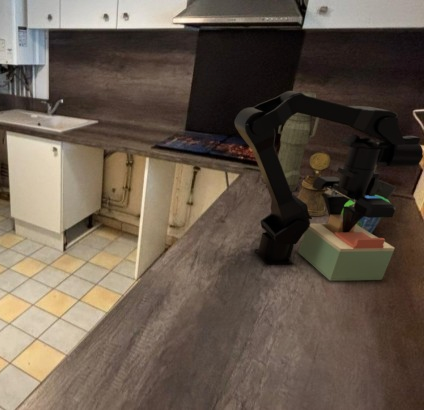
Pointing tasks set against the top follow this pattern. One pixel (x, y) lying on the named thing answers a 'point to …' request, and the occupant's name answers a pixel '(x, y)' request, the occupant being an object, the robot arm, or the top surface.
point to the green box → (343, 260)
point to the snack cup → (367, 222)
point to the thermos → (295, 143)
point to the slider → (360, 240)
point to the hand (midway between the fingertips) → (339, 228)
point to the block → (336, 224)
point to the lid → (340, 244)
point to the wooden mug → (307, 192)
